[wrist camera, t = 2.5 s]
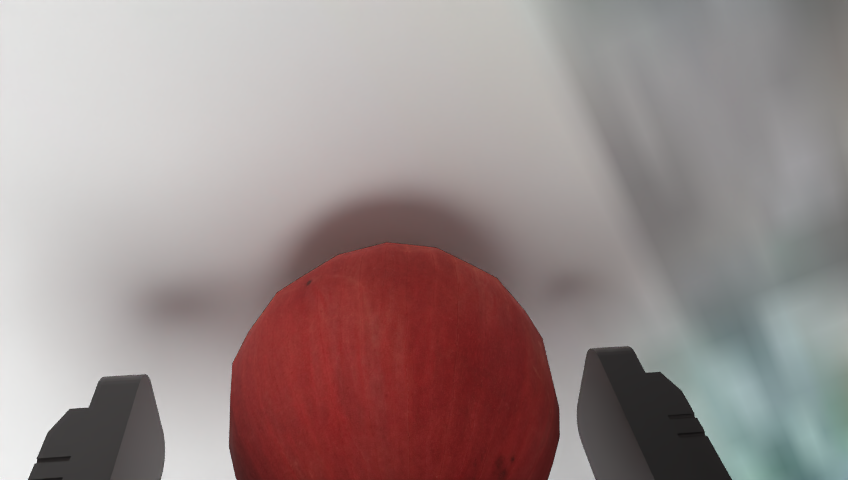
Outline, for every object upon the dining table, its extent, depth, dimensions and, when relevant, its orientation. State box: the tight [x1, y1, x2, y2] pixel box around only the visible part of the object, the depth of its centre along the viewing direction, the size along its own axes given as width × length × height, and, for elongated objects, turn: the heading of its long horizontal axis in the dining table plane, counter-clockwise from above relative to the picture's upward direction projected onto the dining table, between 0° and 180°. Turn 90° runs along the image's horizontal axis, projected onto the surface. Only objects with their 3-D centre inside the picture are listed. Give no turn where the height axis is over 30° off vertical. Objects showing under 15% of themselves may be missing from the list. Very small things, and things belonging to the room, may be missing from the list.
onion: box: [229, 242, 560, 480], centre depth 13 cm, size 6×6×8 cm
